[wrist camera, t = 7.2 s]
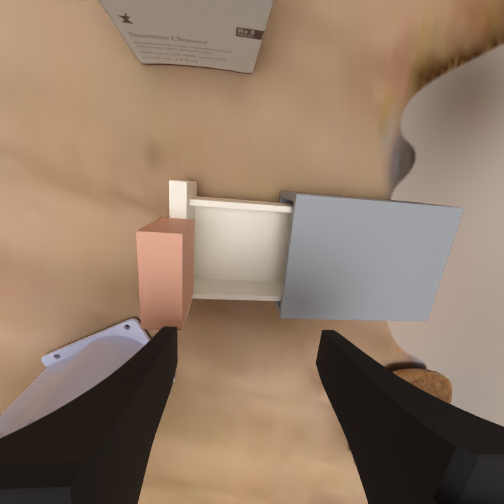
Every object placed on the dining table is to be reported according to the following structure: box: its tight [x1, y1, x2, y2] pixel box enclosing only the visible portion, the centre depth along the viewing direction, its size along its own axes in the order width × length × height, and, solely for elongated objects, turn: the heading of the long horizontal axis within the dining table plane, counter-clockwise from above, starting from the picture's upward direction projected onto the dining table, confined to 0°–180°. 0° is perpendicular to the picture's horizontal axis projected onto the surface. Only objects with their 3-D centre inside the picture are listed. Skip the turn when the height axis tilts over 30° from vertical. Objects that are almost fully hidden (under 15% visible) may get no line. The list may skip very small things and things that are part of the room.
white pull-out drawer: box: [136, 180, 293, 330], centre depth 16 cm, size 13×9×9 cm
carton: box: [274, 191, 464, 321], centre depth 20 cm, size 12×9×5 cm
